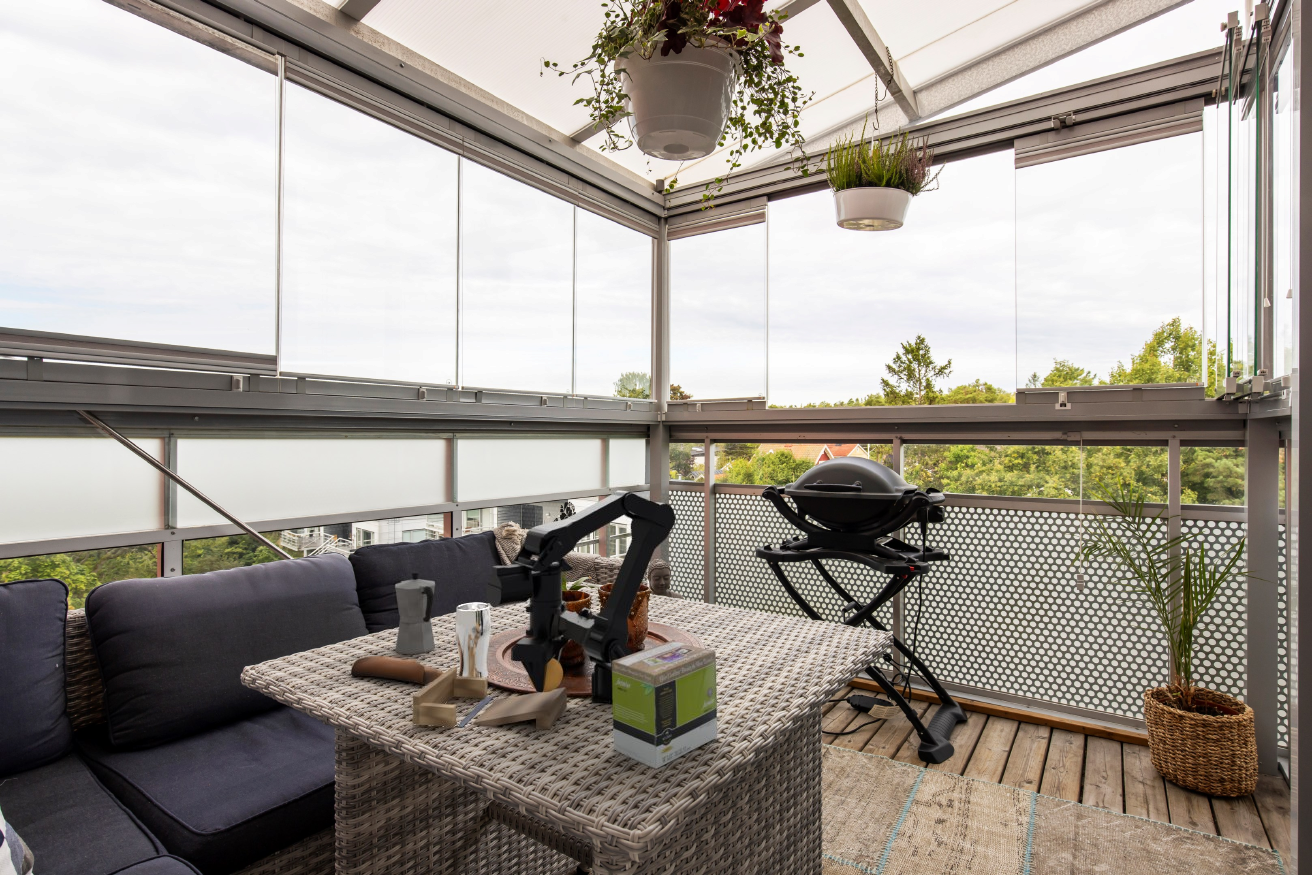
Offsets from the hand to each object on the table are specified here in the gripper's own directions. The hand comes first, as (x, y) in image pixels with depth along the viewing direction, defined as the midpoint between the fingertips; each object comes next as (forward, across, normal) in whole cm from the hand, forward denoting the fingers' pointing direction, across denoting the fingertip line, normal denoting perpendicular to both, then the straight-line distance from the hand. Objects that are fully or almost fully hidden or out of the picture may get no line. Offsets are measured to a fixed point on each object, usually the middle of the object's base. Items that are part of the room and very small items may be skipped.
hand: (545, 685), depth 123 cm
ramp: (+6, 0, +4) cm, 7 cm away
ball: (+1, 0, 0) cm, 1 cm away
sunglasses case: (+6, +15, +37) cm, 40 cm away
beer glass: (+6, +15, +21) cm, 26 cm away
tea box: (+6, -7, -23) cm, 24 cm away
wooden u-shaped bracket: (+6, 0, +18) cm, 19 cm away
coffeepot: (+6, +31, +42) cm, 52 cm away
